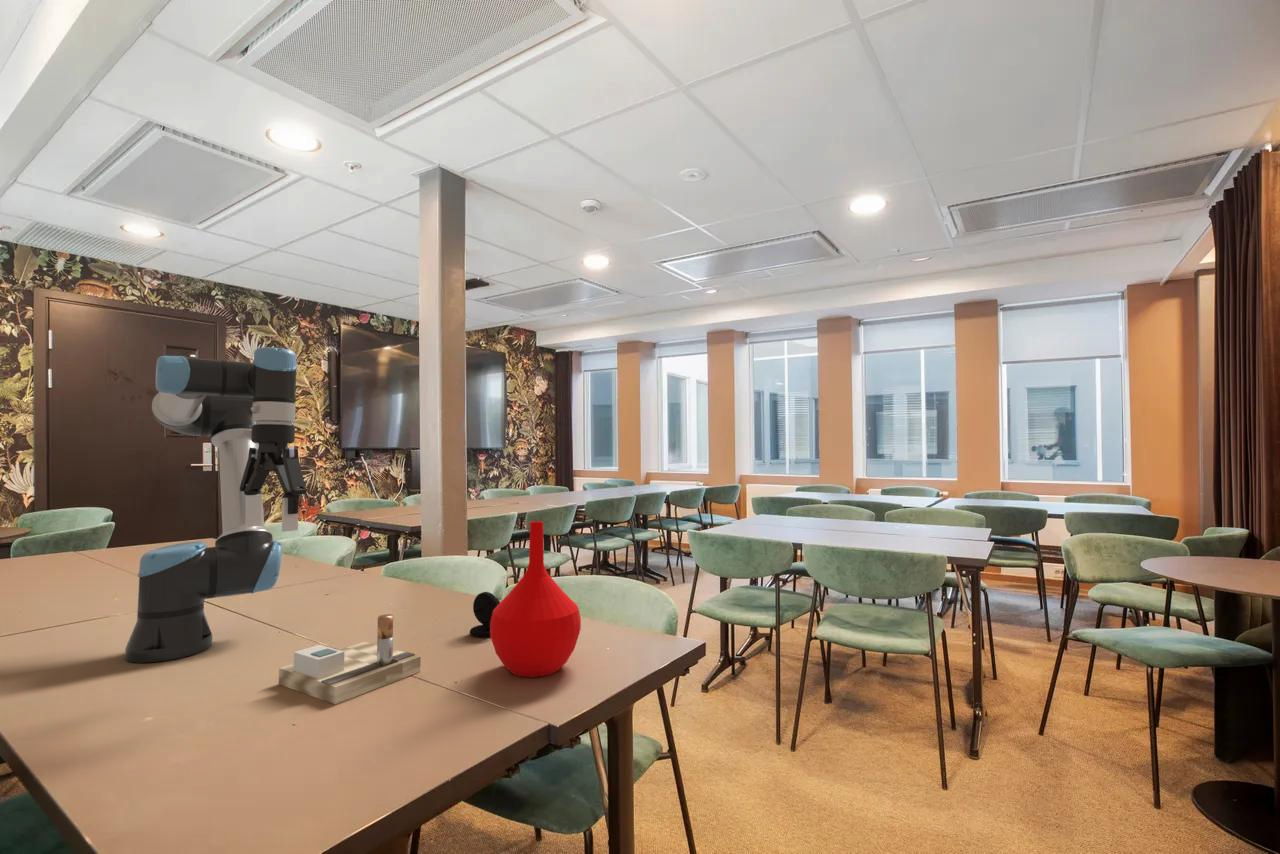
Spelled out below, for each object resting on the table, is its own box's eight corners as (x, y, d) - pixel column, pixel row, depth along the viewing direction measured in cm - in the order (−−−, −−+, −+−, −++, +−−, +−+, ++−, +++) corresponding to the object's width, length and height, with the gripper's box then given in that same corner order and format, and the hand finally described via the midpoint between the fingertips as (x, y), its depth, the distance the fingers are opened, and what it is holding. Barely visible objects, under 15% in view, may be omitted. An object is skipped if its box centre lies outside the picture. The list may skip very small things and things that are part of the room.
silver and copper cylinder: (373, 679, 114) (374, 617, 115) (386, 674, 117) (387, 613, 117) (382, 682, 113) (383, 619, 113) (395, 677, 115) (396, 615, 116)
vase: (596, 660, 124) (597, 519, 126) (548, 692, 108) (549, 529, 109) (525, 648, 132) (526, 515, 134) (469, 676, 116) (471, 524, 117)
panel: (278, 684, 112) (279, 667, 112) (364, 655, 128) (364, 640, 128) (335, 704, 103) (335, 685, 103) (420, 671, 118) (420, 655, 119)
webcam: (508, 632, 145) (508, 591, 145) (485, 640, 138) (485, 597, 139) (486, 627, 149) (486, 587, 149) (462, 634, 142) (463, 593, 143)
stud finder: (293, 671, 111) (293, 651, 111) (319, 662, 115) (319, 643, 115) (318, 679, 107) (318, 658, 107) (344, 670, 111) (344, 650, 111)
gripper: (222, 424, 123) (219, 526, 122) (289, 421, 110) (286, 535, 110) (260, 426, 130) (257, 522, 129) (327, 423, 117) (325, 530, 116)
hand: (270, 528), depth 119 cm, fingers open, 13 cm apart
